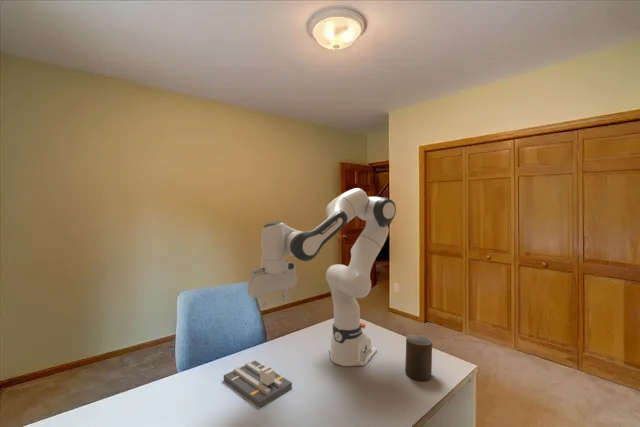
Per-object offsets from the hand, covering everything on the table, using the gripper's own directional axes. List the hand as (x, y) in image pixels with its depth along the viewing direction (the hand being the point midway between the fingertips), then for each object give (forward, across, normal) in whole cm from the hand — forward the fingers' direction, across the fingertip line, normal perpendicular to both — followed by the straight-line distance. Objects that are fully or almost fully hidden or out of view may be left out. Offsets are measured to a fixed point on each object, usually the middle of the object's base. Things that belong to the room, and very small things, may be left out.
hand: (273, 303), depth 108 cm
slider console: (+29, -5, +3) cm, 30 cm away
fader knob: (+27, -5, -3) cm, 27 cm away
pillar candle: (+29, +41, -38) cm, 63 cm away
